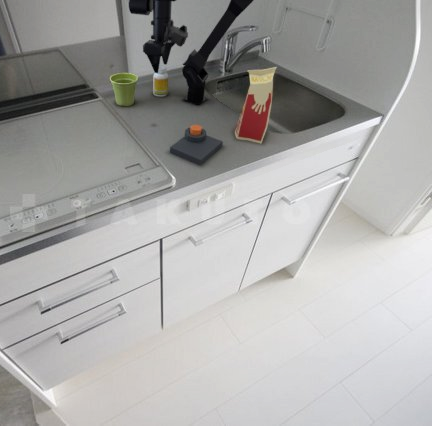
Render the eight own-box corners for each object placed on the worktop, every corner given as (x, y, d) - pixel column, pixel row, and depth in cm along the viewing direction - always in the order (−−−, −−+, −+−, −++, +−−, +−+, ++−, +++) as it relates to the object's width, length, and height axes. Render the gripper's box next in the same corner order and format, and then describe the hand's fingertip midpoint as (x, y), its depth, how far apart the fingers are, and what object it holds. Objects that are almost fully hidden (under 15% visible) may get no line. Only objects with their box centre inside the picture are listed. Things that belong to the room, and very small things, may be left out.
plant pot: (143, 104, 107) (143, 79, 101) (120, 111, 103) (118, 85, 97) (130, 95, 112) (129, 70, 106) (107, 101, 108) (104, 76, 102)
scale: (191, 135, 92) (192, 124, 90) (221, 147, 88) (224, 136, 85) (168, 152, 85) (168, 141, 83) (200, 166, 81) (201, 154, 78)
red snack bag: (265, 129, 96) (285, 62, 82) (262, 144, 89) (283, 74, 75) (236, 124, 98) (251, 58, 84) (232, 138, 91) (246, 69, 77)
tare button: (193, 129, 89) (194, 123, 87) (203, 132, 87) (203, 127, 86) (187, 133, 87) (188, 127, 86) (197, 137, 85) (198, 131, 84)
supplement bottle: (151, 92, 115) (151, 65, 108) (164, 90, 116) (165, 63, 109) (156, 98, 111) (156, 70, 104) (169, 96, 112) (170, 69, 106)
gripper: (177, 26, 88) (174, 81, 99) (194, 13, 101) (190, 63, 111) (141, 22, 91) (142, 76, 101) (162, 10, 103) (161, 59, 114)
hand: (161, 68), depth 107 cm, fingers open, 9 cm apart
